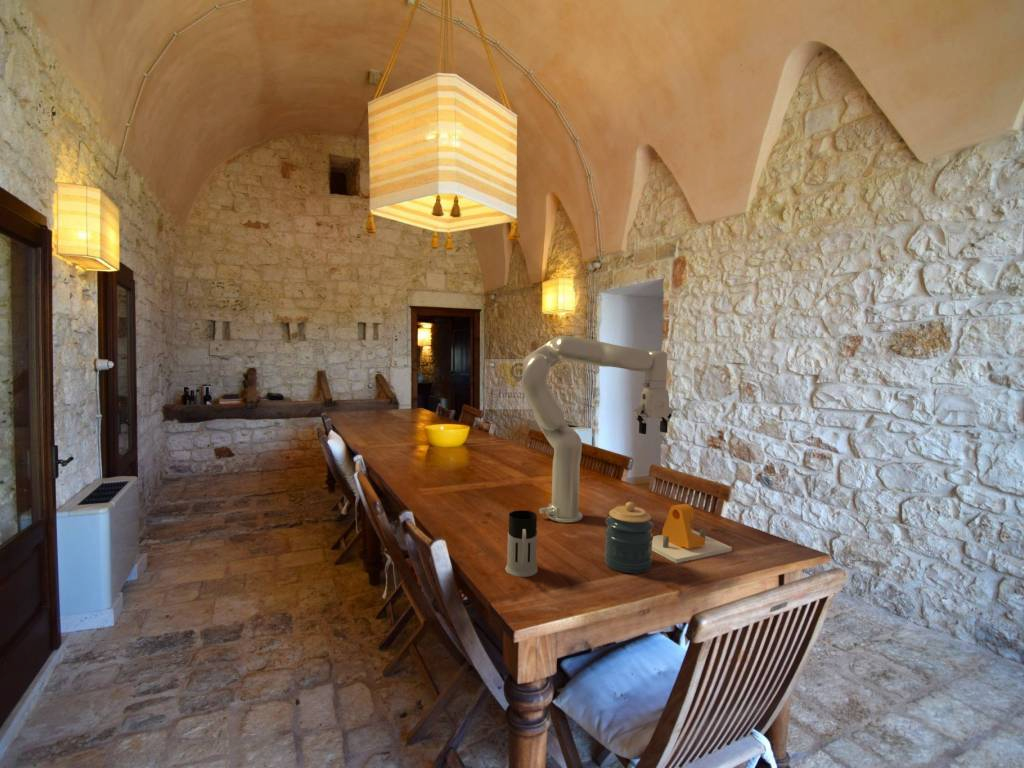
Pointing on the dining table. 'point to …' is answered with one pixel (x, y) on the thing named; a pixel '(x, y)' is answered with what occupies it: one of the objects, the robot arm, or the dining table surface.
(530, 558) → the glass holder
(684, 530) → the bracket
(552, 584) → the dining table surface
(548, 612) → the dining table surface
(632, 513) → the canister
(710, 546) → the locating board
